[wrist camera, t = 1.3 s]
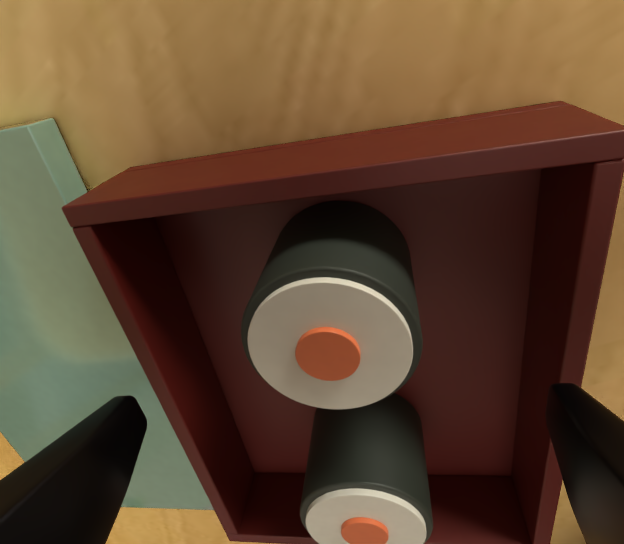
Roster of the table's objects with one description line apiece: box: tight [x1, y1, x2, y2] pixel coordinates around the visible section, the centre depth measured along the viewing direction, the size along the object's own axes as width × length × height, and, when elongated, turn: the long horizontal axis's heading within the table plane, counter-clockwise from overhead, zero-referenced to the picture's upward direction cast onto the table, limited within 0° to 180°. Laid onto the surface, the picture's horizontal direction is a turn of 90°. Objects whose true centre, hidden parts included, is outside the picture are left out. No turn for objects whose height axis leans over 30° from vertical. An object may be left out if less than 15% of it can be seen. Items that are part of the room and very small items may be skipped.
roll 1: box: [241, 201, 423, 409], centre depth 12 cm, size 5×5×5 cm
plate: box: [0, 118, 214, 510], centre depth 19 cm, size 20×10×1 cm, turn 10°
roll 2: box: [300, 393, 433, 544], centre depth 16 cm, size 5×5×5 cm
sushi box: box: [61, 101, 624, 544], centre depth 15 cm, size 16×13×4 cm
